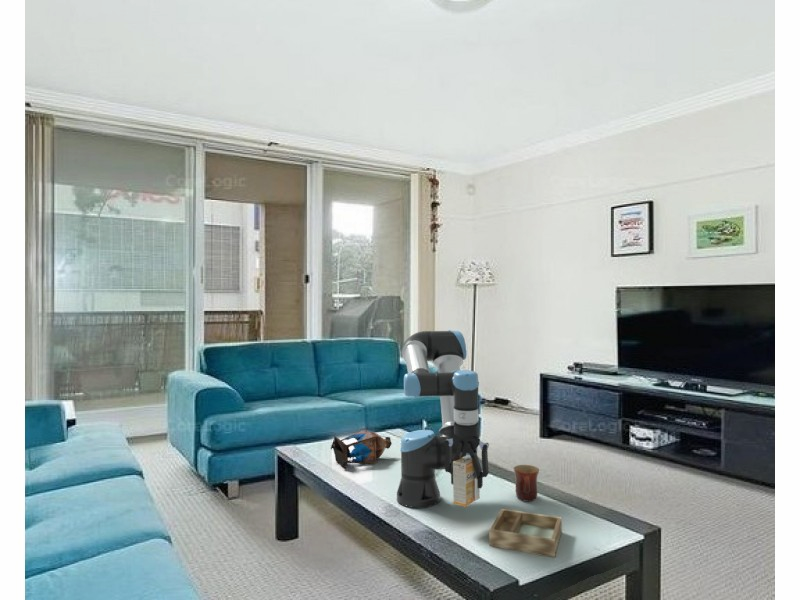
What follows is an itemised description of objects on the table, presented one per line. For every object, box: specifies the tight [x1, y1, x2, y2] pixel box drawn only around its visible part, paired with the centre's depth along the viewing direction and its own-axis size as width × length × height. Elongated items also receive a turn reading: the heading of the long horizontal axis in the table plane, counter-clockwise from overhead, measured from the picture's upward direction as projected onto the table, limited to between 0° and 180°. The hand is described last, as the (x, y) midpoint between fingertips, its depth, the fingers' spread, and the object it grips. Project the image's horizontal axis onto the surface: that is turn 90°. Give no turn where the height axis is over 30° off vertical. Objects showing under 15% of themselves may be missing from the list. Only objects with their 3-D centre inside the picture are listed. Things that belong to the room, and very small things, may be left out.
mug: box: [513, 464, 540, 502], centre depth 185 cm, size 12×9×10 cm
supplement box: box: [452, 455, 481, 508], centre depth 165 cm, size 8×5×13 cm, turn 141°
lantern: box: [330, 428, 393, 470], centre depth 230 cm, size 16×16×25 cm
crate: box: [488, 508, 563, 558], centre depth 157 cm, size 18×16×4 cm
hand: (466, 496), depth 165 cm, fingers closed on supplement box, 6 cm apart
